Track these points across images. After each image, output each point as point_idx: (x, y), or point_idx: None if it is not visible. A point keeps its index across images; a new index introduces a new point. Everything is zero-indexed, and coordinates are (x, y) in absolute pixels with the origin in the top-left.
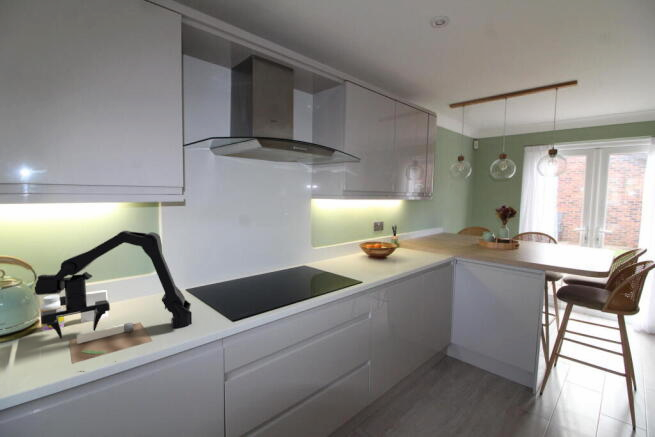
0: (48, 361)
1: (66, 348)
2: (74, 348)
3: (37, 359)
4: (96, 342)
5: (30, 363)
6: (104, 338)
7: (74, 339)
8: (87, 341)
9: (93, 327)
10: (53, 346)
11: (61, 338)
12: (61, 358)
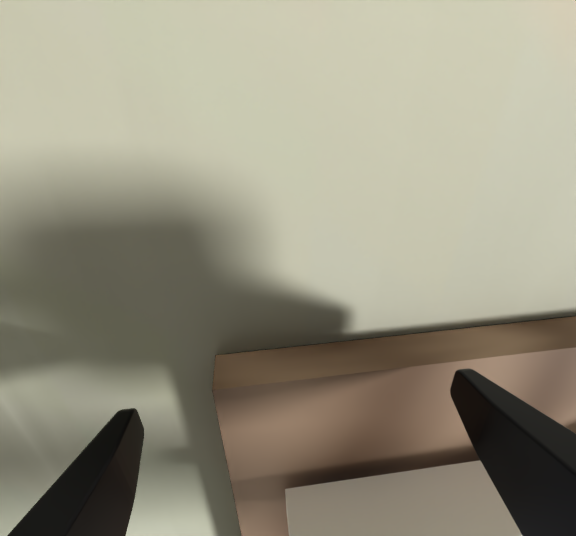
0: (130, 527)
1: (206, 425)
2: (266, 532)
3: (42, 492)
4: None
5: (19, 518)
6: None
7: (263, 412)
8: (352, 478)
9: (475, 427)
10: (81, 346)
11: (138, 431)
12: (198, 521)
